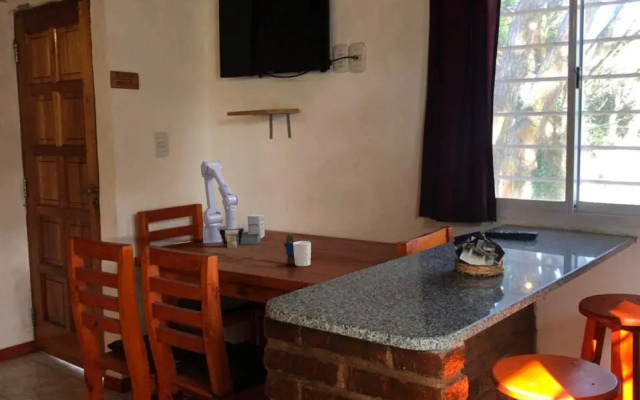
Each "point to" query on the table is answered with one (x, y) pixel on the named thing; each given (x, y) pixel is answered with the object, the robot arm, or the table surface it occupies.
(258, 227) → the supplement box
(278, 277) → the table surface
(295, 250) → the white cup
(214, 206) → the robot arm
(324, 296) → the table surface
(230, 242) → the birch block
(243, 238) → the serving tray
